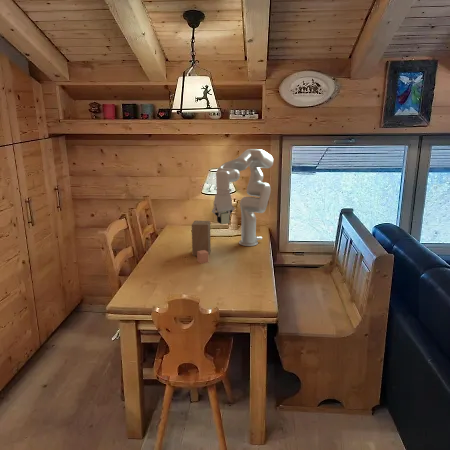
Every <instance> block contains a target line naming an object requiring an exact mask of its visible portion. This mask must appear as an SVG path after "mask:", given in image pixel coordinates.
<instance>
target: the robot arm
mask: <svg viewBox="0 0 450 450" xmlns="http://www.w3.org/2000/svg"><path fill="white" fill-rule="evenodd" d="M273 165H274V158H273V156H272V155H271V154H270V153H268V152H267V151H265V150H263V149H257V148H248V149H246V150H245V151H243V152H242V153H241V154H240V155H239V156H238V157H237V158H234V159H232V160H228V161H226V162H224V163H222V164H221V165H220V166H219V167H218V168H217V170H216V172H215V177H216V178H215V179H216V180H215V181H216V185H215V186H216V193H215V194H214V199H213V200H214V202H213V208H212V209H211V210H212V211H211V213H213V214H214V215H215V216H216V218H217V219H216V221H217V223H218V224H220V223H221V217H220V214H221V212H228V213H229V223H231V222H230V221H231V214H232V213H233V212H234V211H235V209H236V208H235V206H233V200H232V196H231V192H232V189H231V188H230V183H235V182H237V181H239V180H240V176H241V174H240V172H242V171H245V170H247V168H249V169H250V170H249V171H250V176H249V180H248V182H247V183H248V184H247V186H246V194H247V195H248V196H243V197H242V198H241V199H240V202H239V207H240V212H241V227H240V228H241V236H240V237H241V240H239V242H238V243H239V245H241V246H245V247H254V246H257V245H258V244H259V242H258V241H259V240H260V241H261V240H263V237H262V236H258V235H257V234H256V232H257V231H256V230H257V216H256V214H257V213H258V214H263V213H265V212H266V211H267V207H268V203H269V200H270V197H271V191H272V188H271V185H270V184H269V183H268V182H263V180H264V173H263V172H262V170H261V169H271V168H272V167H273ZM255 213H256V214H255Z"/></svg>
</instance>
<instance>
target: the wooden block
mask: <svg viewBox="0 0 450 450" xmlns="http://www.w3.org/2000/svg"><path fill="white" fill-rule="evenodd" d="M211 245H212V244H211V221H210V220H193V221H192V224H191V246H192V247H191V251H192V256H193V257H197V251H202V250H206V251H207V252H208V255H210V254H211V252H212V251H211V250H212V249H211Z"/></svg>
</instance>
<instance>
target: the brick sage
mask: <svg viewBox="0 0 450 450" xmlns="http://www.w3.org/2000/svg"><path fill="white" fill-rule="evenodd" d="M220 217H221V223H219V224H221V225H226V224H230V222H229V213H228V212H226V211H223V212H221V214H220Z"/></svg>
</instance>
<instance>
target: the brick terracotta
mask: <svg viewBox="0 0 450 450" xmlns="http://www.w3.org/2000/svg"><path fill="white" fill-rule="evenodd" d="M209 255H210V254H209ZM209 255H208V252H207V251H206V250H202V251H197V256H196V257H197V258H196V259H197V262H199V263H200V264H205V263H209V261H210V260H209Z"/></svg>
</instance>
